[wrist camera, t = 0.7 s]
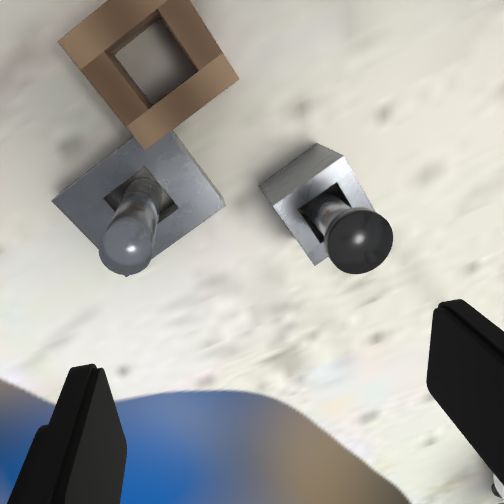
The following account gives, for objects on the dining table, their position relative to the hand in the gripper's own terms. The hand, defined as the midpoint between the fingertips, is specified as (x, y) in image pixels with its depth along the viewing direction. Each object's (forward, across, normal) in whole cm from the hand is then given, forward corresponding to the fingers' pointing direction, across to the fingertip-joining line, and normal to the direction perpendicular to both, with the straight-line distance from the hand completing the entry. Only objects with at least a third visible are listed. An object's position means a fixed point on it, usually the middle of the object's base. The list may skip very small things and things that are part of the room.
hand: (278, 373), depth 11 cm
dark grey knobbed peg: (+21, -8, +2) cm, 23 cm away
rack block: (+24, +3, -9) cm, 26 cm away
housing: (+24, -8, +2) cm, 26 cm away
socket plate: (+24, +6, 0) cm, 25 cm away
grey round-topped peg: (+24, +6, 0) cm, 25 cm away
